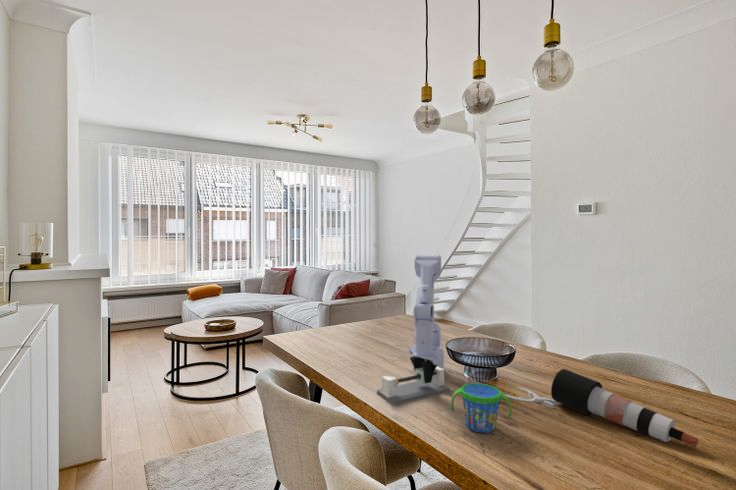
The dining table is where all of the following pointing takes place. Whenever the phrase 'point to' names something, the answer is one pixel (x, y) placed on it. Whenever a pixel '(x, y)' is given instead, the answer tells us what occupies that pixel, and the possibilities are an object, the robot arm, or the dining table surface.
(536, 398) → the pliers
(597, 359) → the dining table surface
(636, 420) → the cable
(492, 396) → the snack cup
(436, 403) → the dining table surface
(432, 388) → the cord rig
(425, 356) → the robot arm
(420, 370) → the marker sleeve
